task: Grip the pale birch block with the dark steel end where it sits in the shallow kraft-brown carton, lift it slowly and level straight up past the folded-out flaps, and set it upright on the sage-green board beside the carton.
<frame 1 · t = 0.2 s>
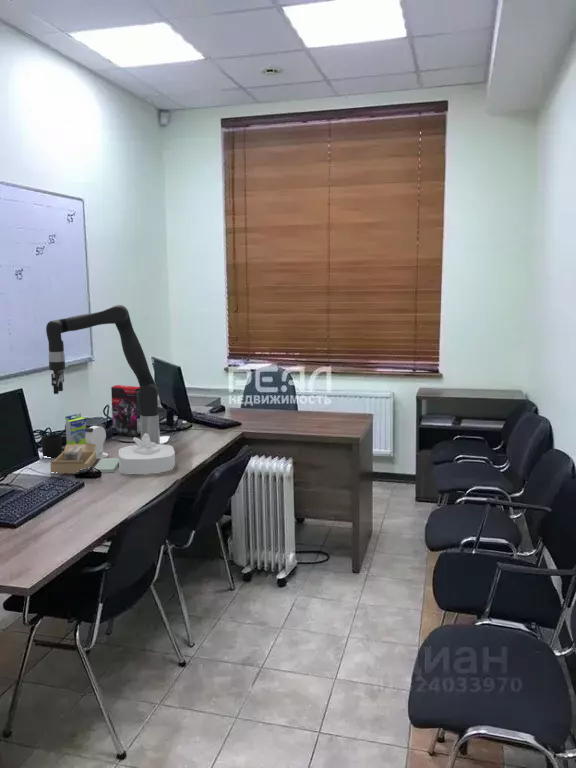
hand: (58, 392, 316), 29 cm above the table, tool pointing down, fingers open, 8 cm apart
graphics card box: (128, 434, 352), on the table
carton: (74, 467, 289), on the table
tissue box: (147, 467, 292), on the table
board: (107, 466, 290), on the table
pen holder: (52, 456, 306), on the table
box: (77, 448, 322), on the table
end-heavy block: (73, 458, 288), in the carton
white security camera: (96, 456, 308), on the table
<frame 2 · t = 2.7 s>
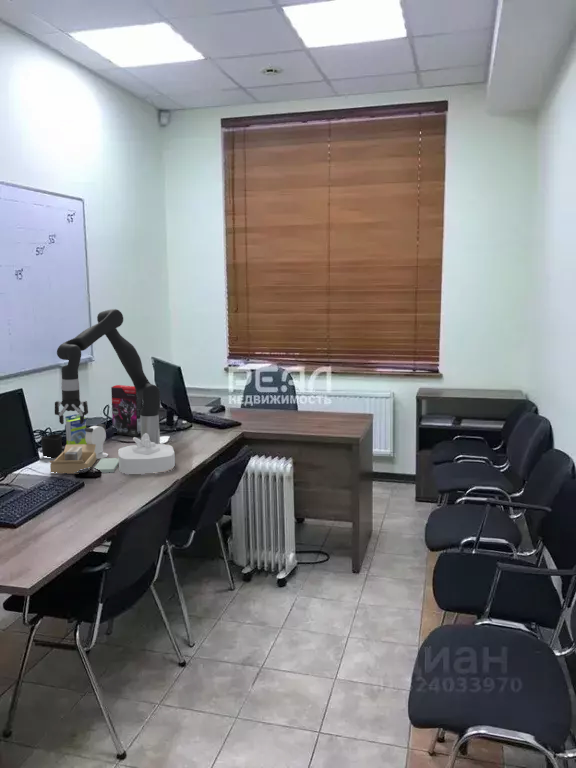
hand: (71, 423, 285), 21 cm above the table, tool pointing down, fingers open, 8 cm apart
nothing on the table moved.
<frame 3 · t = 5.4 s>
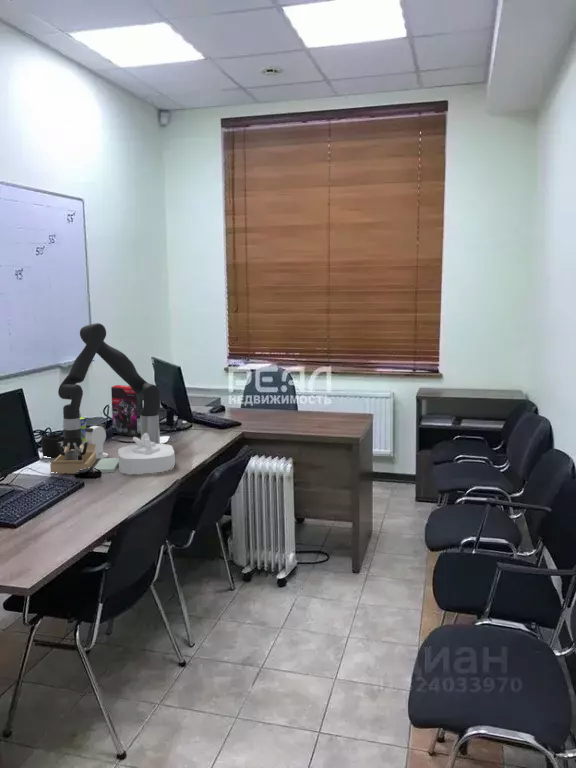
hand: (73, 463, 288), 2 cm above the table, tool pointing down, fingers closed on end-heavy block, 4 cm apart
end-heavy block: (73, 458, 288), in the carton, touching gripper
everything else where it was.
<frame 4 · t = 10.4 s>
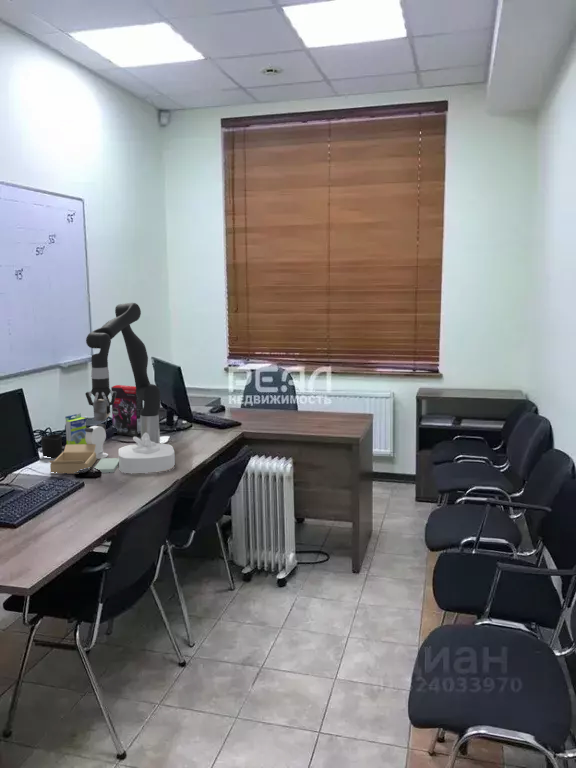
hand: (102, 413, 286), 25 cm above the table, tool pointing down, fingers closed on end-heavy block, 4 cm apart
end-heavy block: (102, 409, 286), point 27 cm above the table, touching gripper
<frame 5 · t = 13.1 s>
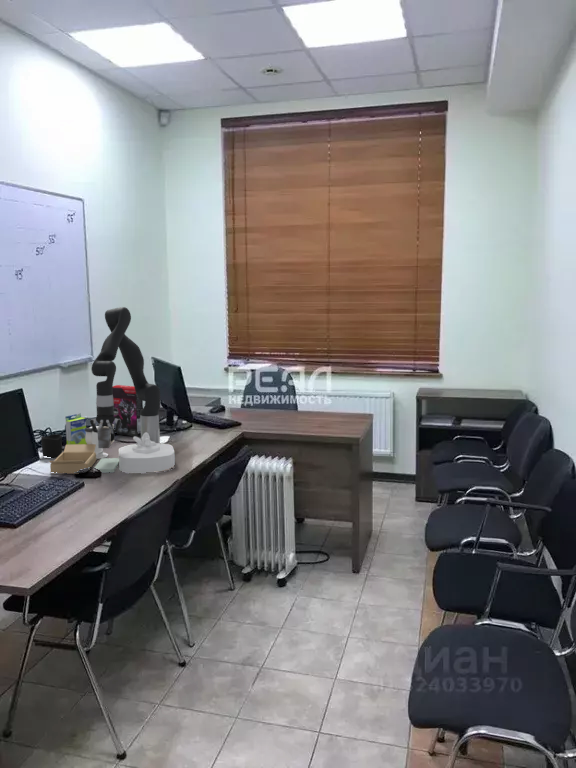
hand: (106, 440, 288), 12 cm above the table, tool pointing down, fingers closed on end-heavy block, 4 cm apart
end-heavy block: (106, 436, 288), point 14 cm above the table, touching gripper
when the fingers open (4 cm above the table, at t = 15.5 s): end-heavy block stays where it is, resting on board.
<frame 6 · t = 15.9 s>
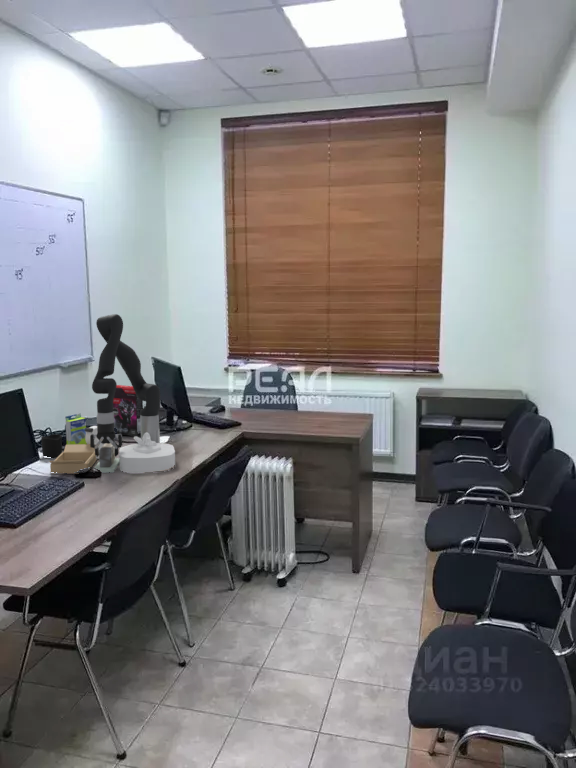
hand: (106, 456, 289), 5 cm above the table, tool pointing down, fingers open, 8 cm apart
tissue box: (147, 466, 294), on the table, touching gripper
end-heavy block: (107, 454, 290), on the board, point 6 cm above the table
everything else where it was.
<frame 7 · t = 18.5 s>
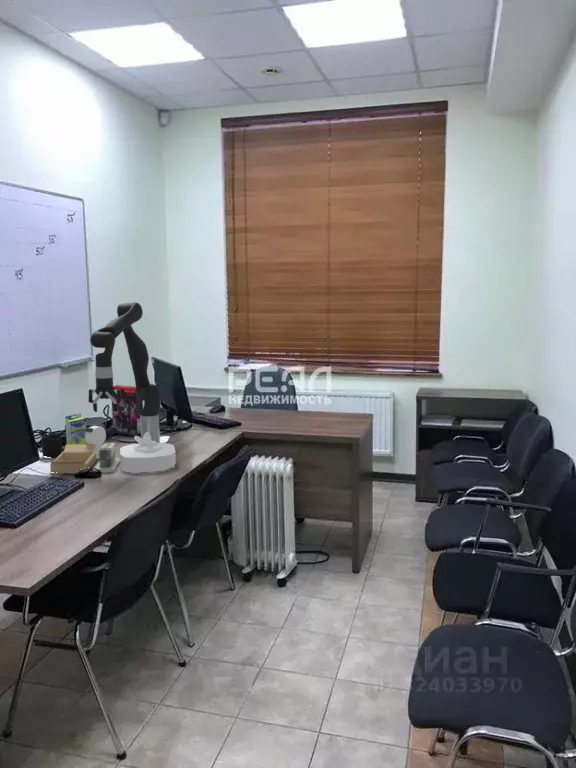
hand: (105, 411, 286), 26 cm above the table, tool pointing down, fingers open, 8 cm apart
tissue box: (148, 465, 294), on the table
everything else where it was.
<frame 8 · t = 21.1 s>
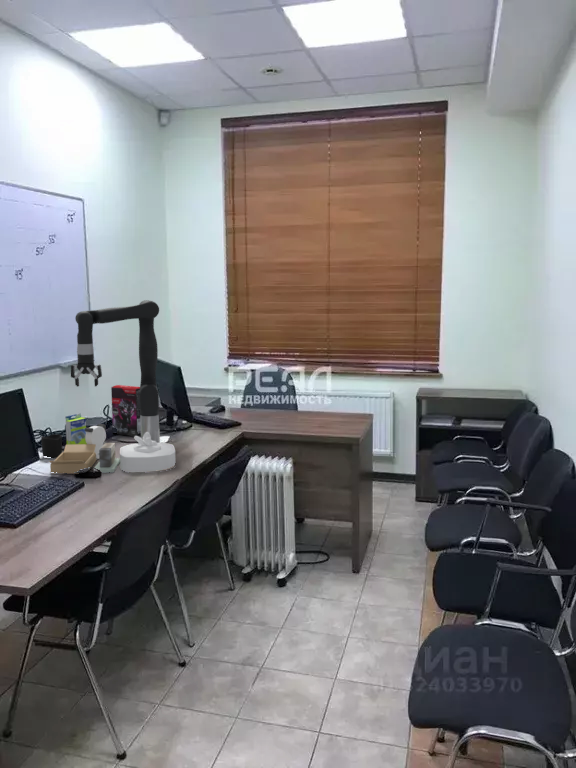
hand: (86, 386, 305), 34 cm above the table, tool pointing down, fingers open, 8 cm apart
nothing on the table moved.
at the end: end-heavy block inside the target area on the board (0.5 cm from its centre), point 5.5 cm above the board's base; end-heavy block tilted 0°; the gripper is holding nothing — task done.
